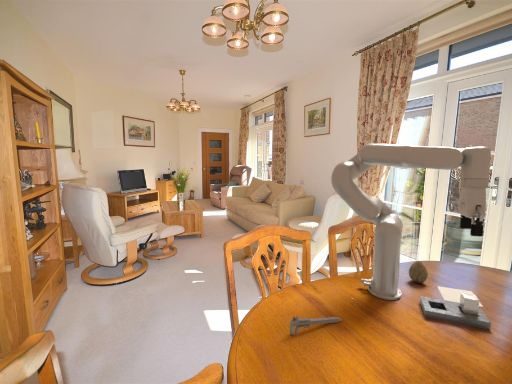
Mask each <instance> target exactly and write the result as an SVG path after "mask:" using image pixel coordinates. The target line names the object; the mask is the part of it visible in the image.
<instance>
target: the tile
mask: <svg viewBox="0 0 512 384" xmlns="http://www.w3.org/2000/svg"><path fill="white" fill-rule="evenodd" d="M436 289H438V291H439V293H440V295H441V297H442V298H443V299H442V300H445V301H451V302H457V303H460V296H461V292H462V293H468V294H474V292H473V291H472V290H465V289H458V288H452V287H447V286H439V285H438V286H436ZM479 307H480V308H484V306H483V305H482V303H481V301H479Z"/></svg>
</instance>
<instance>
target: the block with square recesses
mask: <svg viewBox="0 0 512 384" xmlns="http://www.w3.org/2000/svg"><path fill="white" fill-rule="evenodd" d="M419 304H420V307H421V309H422V310H421V311H422V313H423V315H424V318H428V319H432V320H438V321H442V322H447V323H448V322H449V323H451V324H453V323H454V324H458V325H463V326H468V327H473V328H480V329H482V330H483V329H484V330H488V331H491V325H492V322H491V321H490V320H489V318H488V317H487V315H486V314H485V313H484V311H483V310H482V307H479V309H478V316H473V315H468V314H462V312H461V311H460V309H459V306H460V303H457V302H451V301H445V300H444V299H440V298H439V299H438V298H432V297H427V296H422V295H420V297H419Z"/></svg>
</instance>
